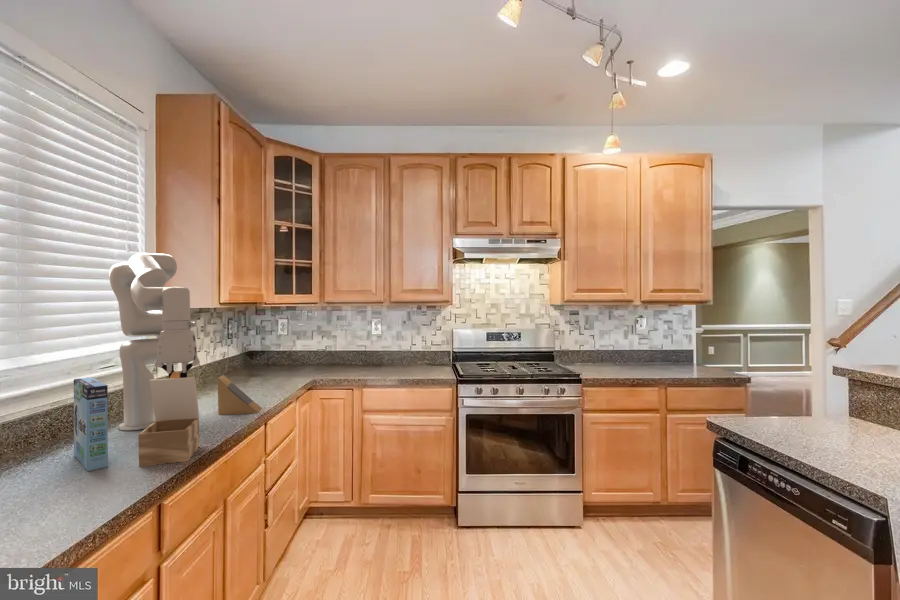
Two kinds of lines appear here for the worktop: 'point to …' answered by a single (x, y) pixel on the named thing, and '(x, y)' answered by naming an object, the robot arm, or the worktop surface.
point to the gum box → (91, 423)
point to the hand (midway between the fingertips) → (178, 385)
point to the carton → (168, 441)
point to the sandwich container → (234, 399)
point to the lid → (174, 398)
